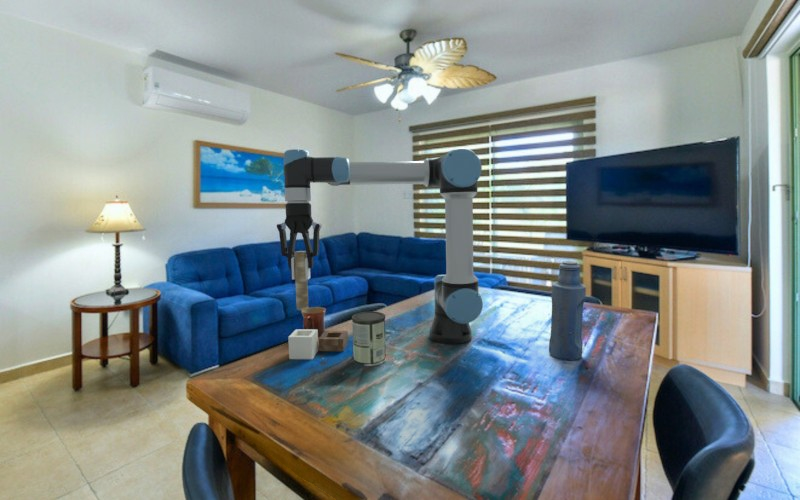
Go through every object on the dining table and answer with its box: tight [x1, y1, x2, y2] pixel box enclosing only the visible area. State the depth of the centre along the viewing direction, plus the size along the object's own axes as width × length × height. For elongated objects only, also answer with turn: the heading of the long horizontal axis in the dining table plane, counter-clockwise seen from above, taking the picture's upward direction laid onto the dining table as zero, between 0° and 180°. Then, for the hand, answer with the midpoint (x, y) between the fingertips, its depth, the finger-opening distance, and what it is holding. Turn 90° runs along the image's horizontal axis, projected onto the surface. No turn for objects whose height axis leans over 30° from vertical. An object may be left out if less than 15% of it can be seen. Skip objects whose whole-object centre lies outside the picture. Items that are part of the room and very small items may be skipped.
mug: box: [300, 306, 327, 338], centre depth 136 cm, size 12×9×10 cm
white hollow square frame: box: [287, 328, 319, 360], centre depth 119 cm, size 7×7×8 cm
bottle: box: [548, 260, 587, 361], centre depth 118 cm, size 10×10×30 cm
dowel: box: [293, 250, 310, 311], centre depth 117 cm, size 4×4×18 cm
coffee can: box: [351, 311, 387, 367], centre depth 117 cm, size 10×10×14 cm
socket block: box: [318, 330, 349, 352], centre depth 126 cm, size 8×8×5 cm
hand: (301, 278), depth 117 cm, fingers closed on dowel, 3 cm apart
